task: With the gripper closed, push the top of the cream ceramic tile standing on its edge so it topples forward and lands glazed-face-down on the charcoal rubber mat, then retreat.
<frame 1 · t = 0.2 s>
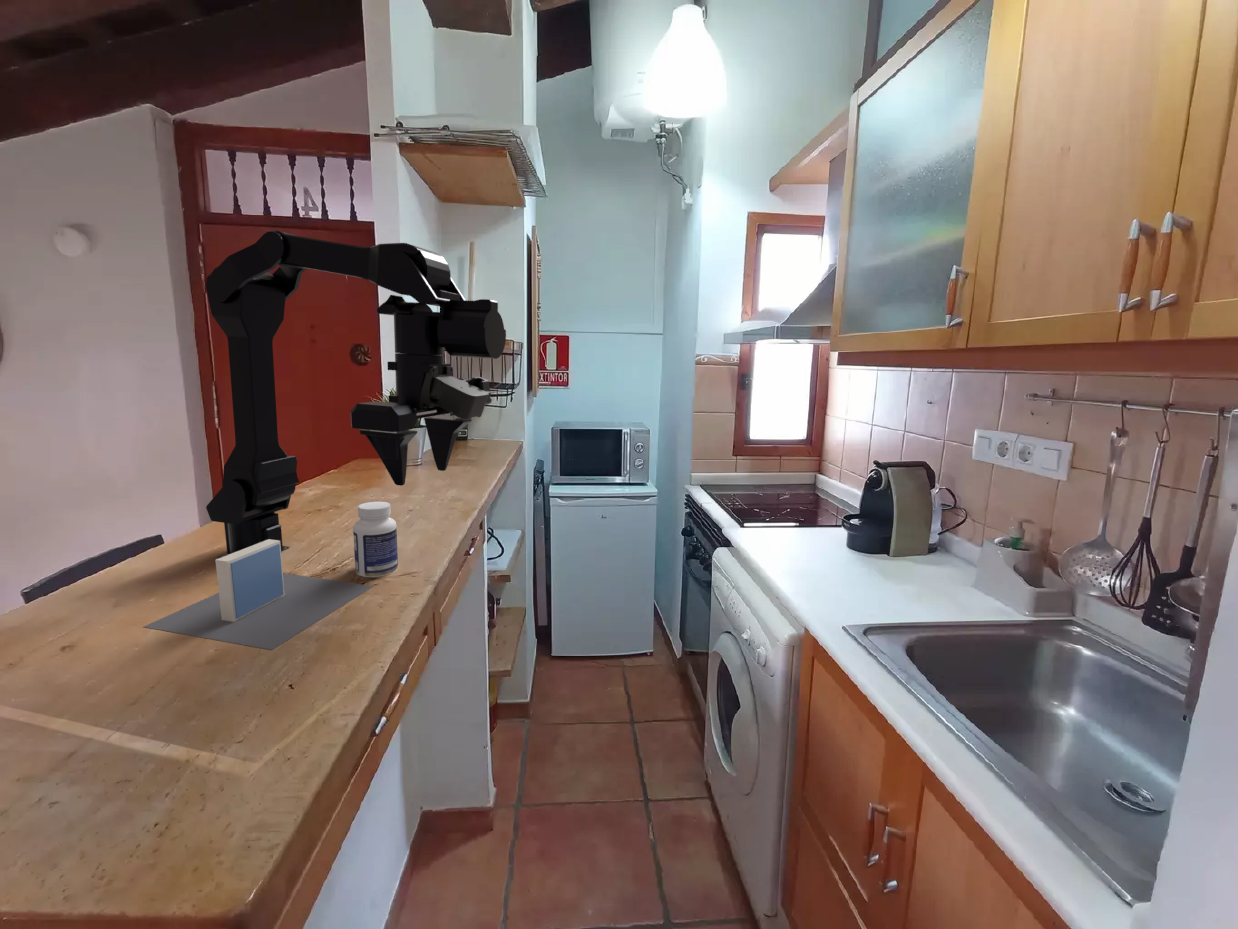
hand: (422, 477, 71), 14 cm above the worktop, fingers open, 9 cm apart
tile: (254, 607, 64), point 1 cm above the worktop, touching mat
pill bottle: (377, 574, 76), on the worktop
mat: (269, 609, 65), on the worktop
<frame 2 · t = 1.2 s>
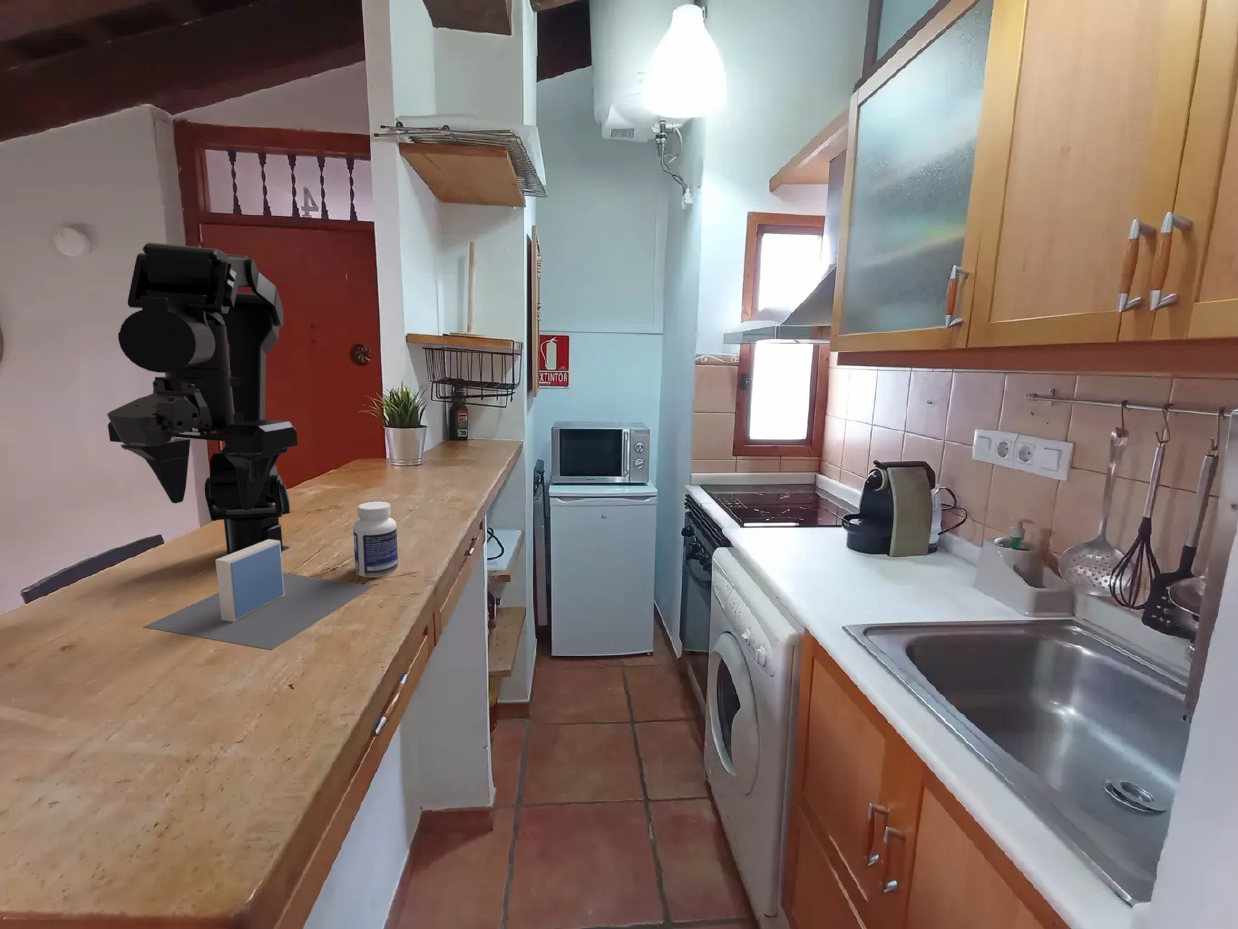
hand: (212, 506, 63), 12 cm above the worktop, fingers open, 9 cm apart
nothing on the worktop moved.
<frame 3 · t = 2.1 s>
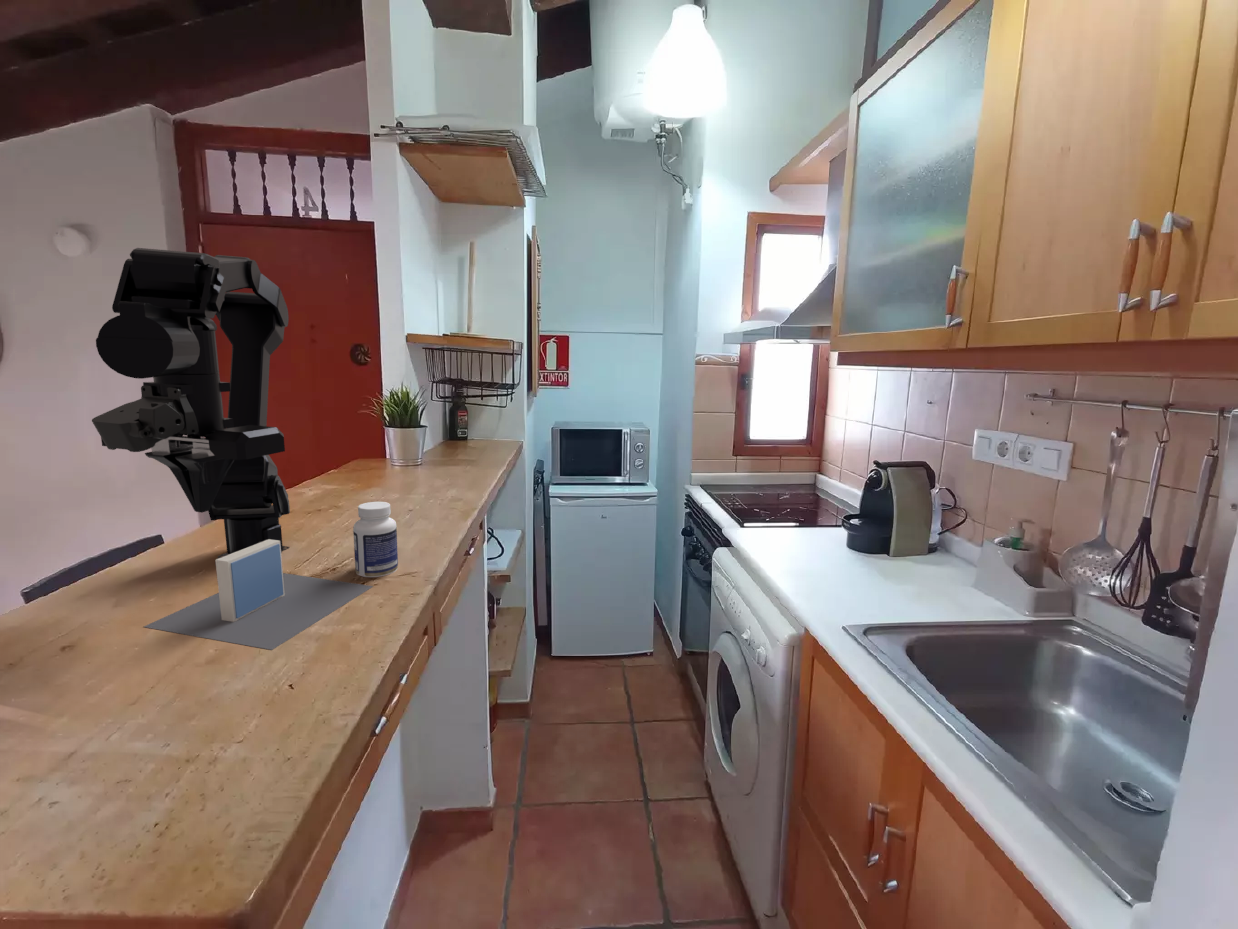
hand: (202, 511, 63), 11 cm above the worktop, fingers closed
nothing on the worktop moved.
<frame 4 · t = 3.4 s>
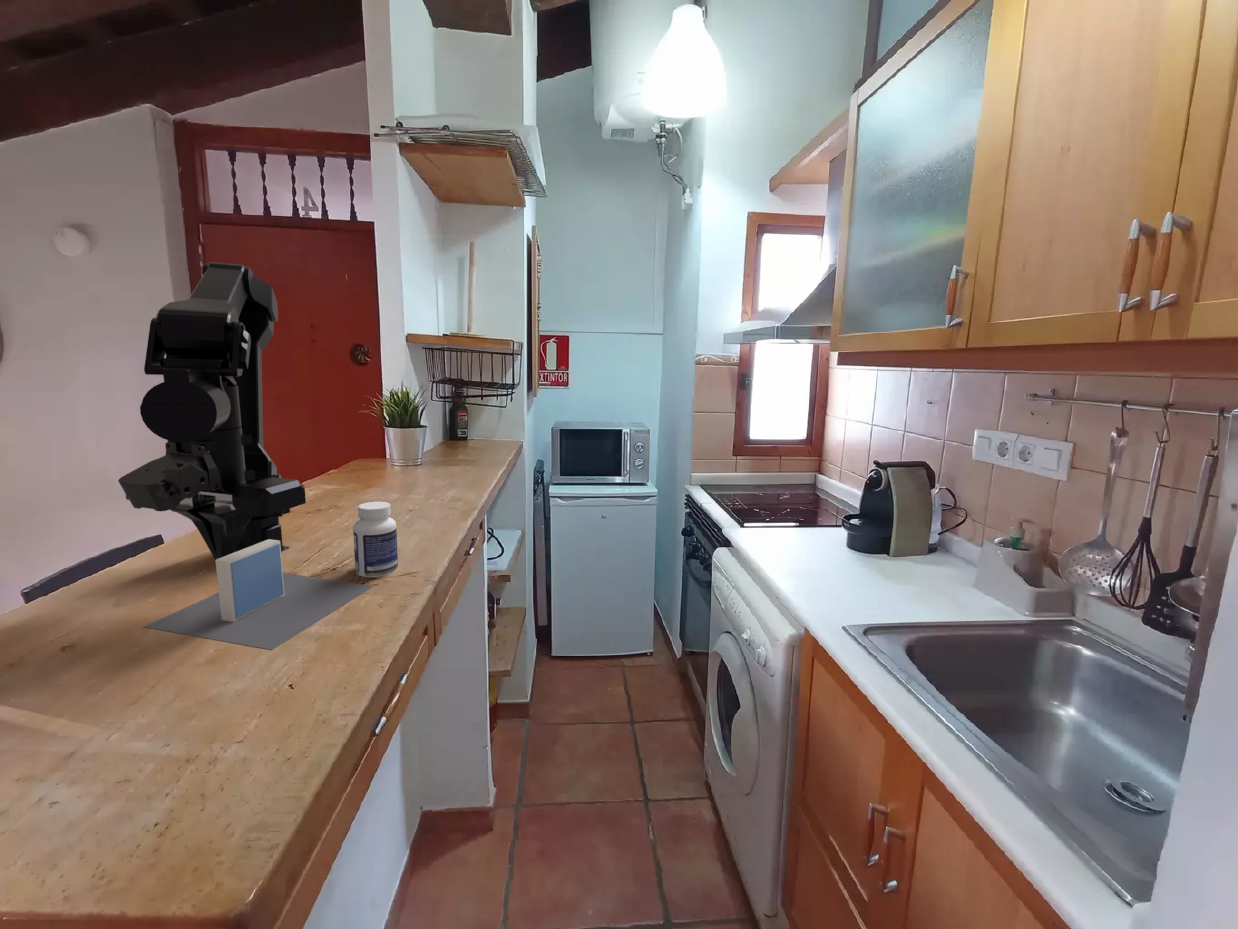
hand: (223, 562, 64), 6 cm above the worktop, fingers closed
nothing on the worktop moved.
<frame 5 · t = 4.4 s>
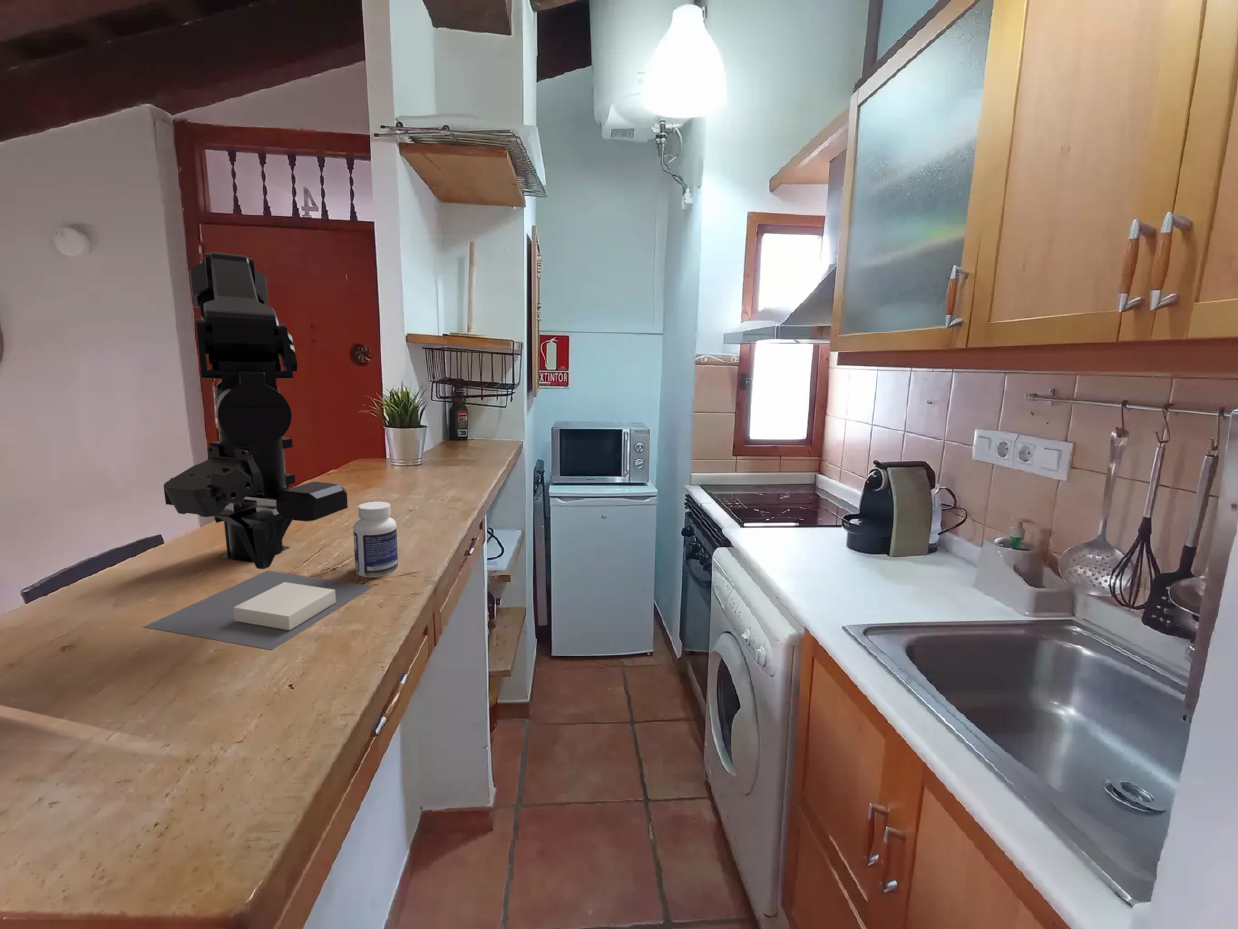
hand: (263, 567, 62), 6 cm above the worktop, fingers closed
tile: (260, 600, 64), point 2 cm above the worktop, tilted 90°, touching mat
everything else where it was.
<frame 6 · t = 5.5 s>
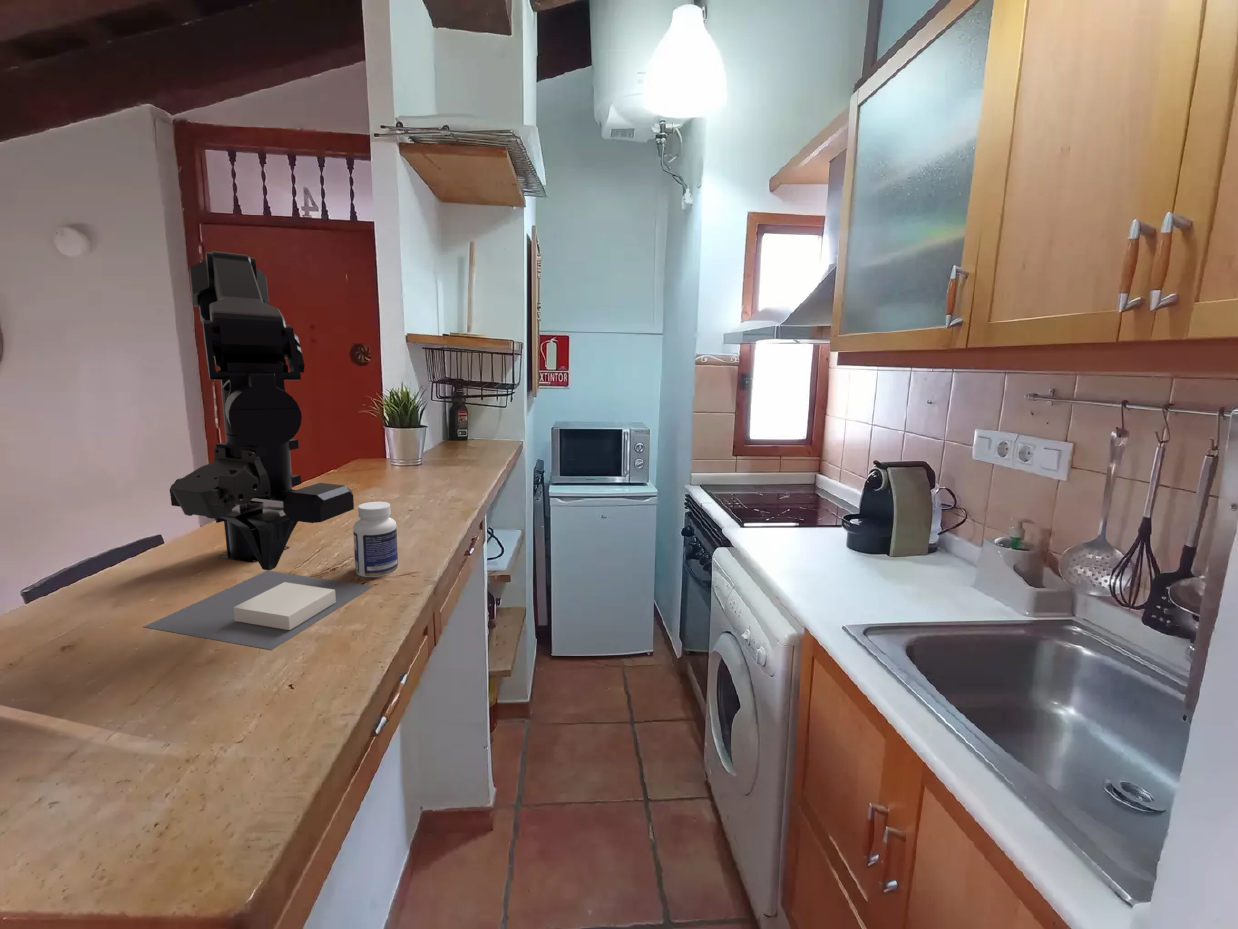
hand: (269, 569, 62), 6 cm above the worktop, fingers closed
nothing on the worktop moved.
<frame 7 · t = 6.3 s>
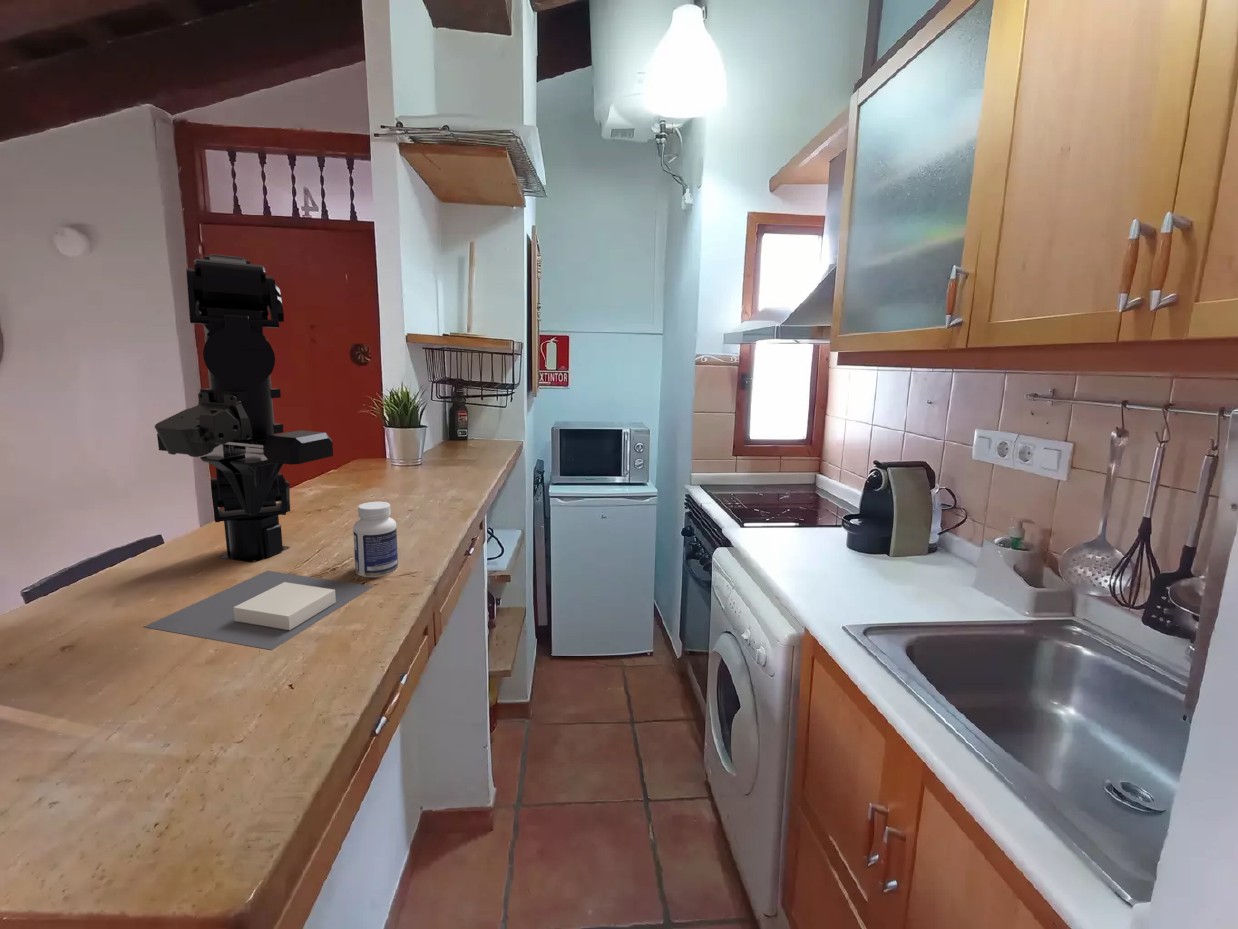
hand: (252, 513, 65), 11 cm above the worktop, fingers closed
nothing on the worktop moved.
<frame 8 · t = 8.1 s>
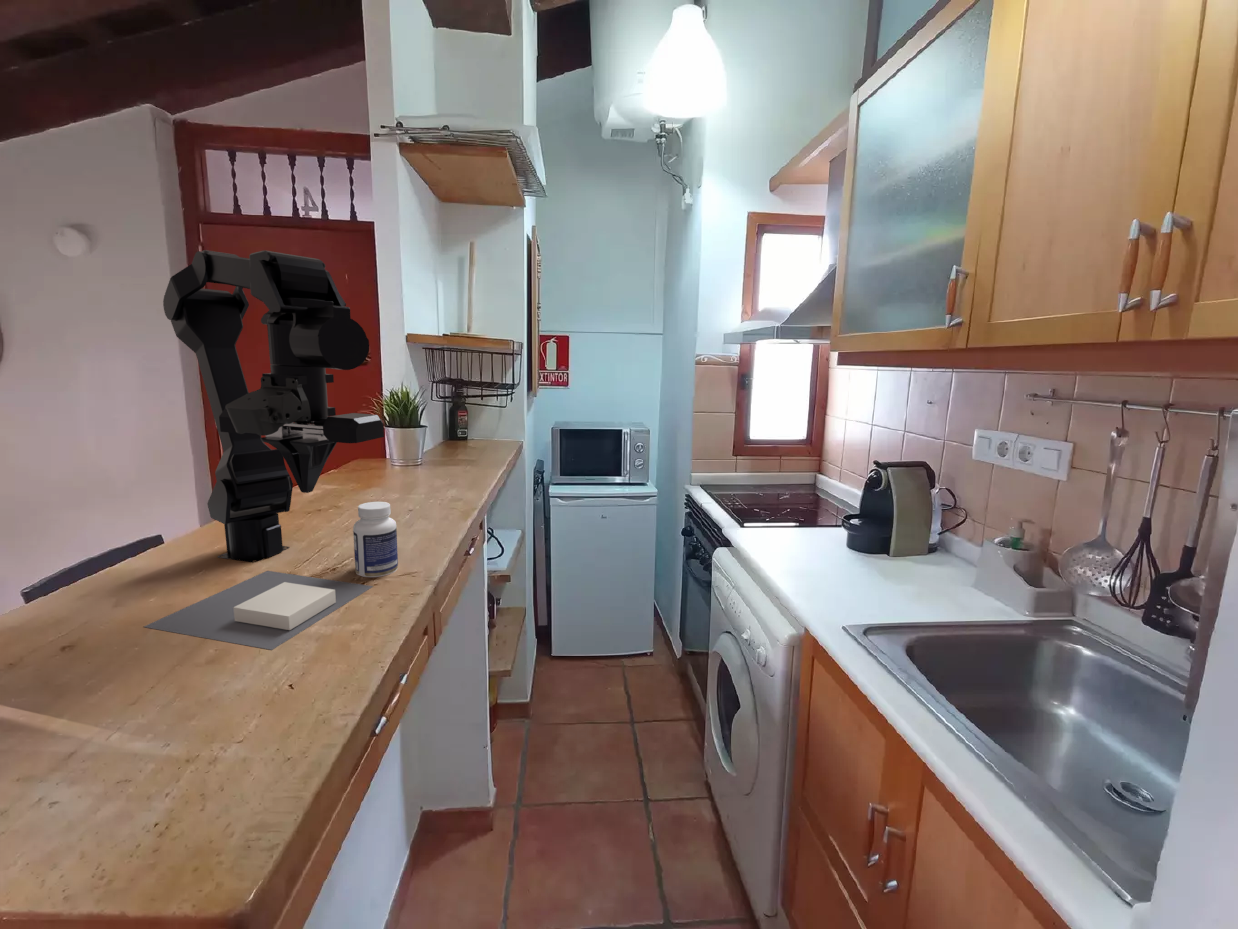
hand: (307, 492, 69), 12 cm above the worktop, fingers closed
nothing on the worktop moved.
at the end: tile tilted 90°; tile inside the target area (3.6 cm from its centre), point 1.5 cm above the worktop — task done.
